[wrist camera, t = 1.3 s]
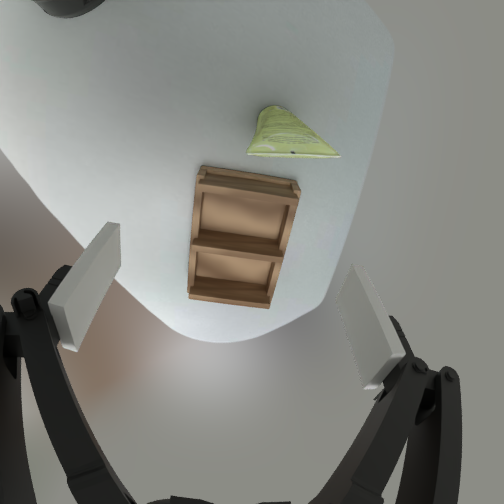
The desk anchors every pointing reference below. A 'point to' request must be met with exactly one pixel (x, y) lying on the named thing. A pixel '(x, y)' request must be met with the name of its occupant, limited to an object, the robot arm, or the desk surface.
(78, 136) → the desk surface
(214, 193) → the rack
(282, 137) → the tube
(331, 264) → the desk surface
